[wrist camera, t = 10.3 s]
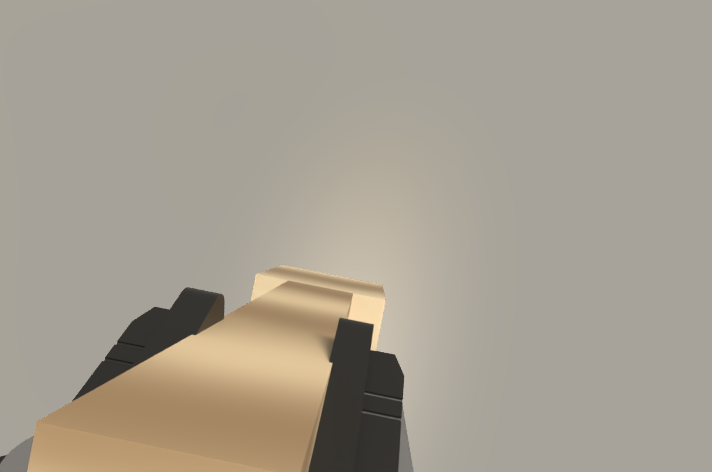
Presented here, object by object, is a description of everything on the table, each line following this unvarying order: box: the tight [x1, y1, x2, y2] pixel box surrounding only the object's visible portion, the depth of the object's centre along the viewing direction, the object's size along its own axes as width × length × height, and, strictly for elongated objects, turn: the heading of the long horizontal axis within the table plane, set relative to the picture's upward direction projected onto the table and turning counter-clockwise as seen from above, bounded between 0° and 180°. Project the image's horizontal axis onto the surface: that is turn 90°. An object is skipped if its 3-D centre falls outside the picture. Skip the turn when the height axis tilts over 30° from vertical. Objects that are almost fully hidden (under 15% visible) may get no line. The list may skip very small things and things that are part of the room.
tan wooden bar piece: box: [27, 265, 386, 472], centre depth 15 cm, size 21×5×4 cm, turn 178°
